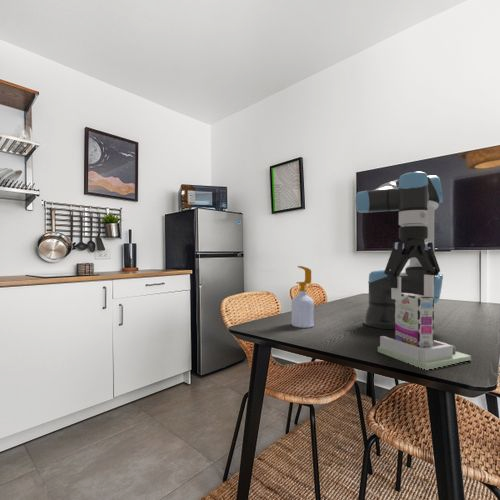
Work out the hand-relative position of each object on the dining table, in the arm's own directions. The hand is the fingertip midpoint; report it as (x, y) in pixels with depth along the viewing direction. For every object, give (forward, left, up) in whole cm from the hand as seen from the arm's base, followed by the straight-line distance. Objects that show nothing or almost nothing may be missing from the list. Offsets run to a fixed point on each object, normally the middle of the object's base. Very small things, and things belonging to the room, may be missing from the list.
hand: (413, 297), depth 89 cm
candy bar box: (0, 0, -16) cm, 16 cm away
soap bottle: (+10, -43, -17) cm, 48 cm away
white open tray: (-2, +2, -17) cm, 17 cm away
